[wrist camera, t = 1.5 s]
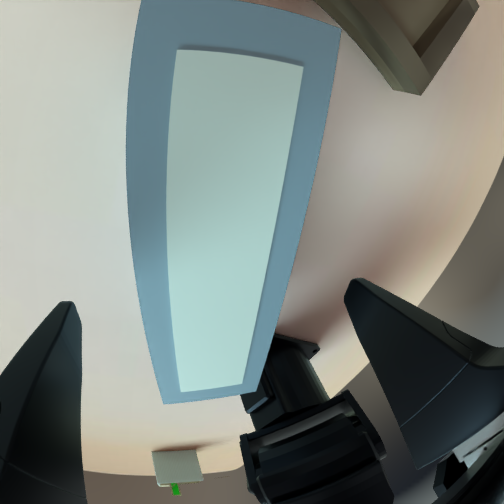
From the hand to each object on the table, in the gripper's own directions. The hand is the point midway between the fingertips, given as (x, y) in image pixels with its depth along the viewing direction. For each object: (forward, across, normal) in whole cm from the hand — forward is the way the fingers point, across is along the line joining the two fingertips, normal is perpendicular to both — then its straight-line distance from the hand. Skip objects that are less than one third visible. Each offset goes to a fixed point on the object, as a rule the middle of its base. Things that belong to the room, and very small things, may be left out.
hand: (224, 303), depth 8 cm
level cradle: (+6, -4, -19) cm, 20 cm away
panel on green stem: (+7, +4, +39) cm, 40 cm away
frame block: (+7, 0, 0) cm, 7 cm away
